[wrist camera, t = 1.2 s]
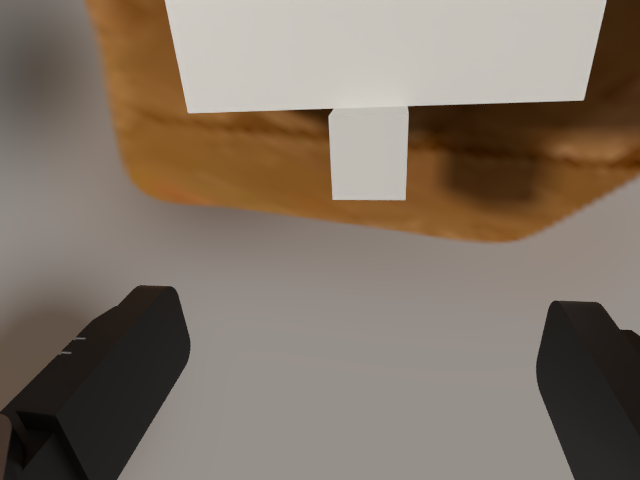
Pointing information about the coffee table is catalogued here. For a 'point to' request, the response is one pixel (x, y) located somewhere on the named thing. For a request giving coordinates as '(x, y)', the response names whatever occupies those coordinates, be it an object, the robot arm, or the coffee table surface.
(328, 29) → the lid
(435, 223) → the coffee table surface
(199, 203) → the coffee table surface
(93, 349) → the robot arm
